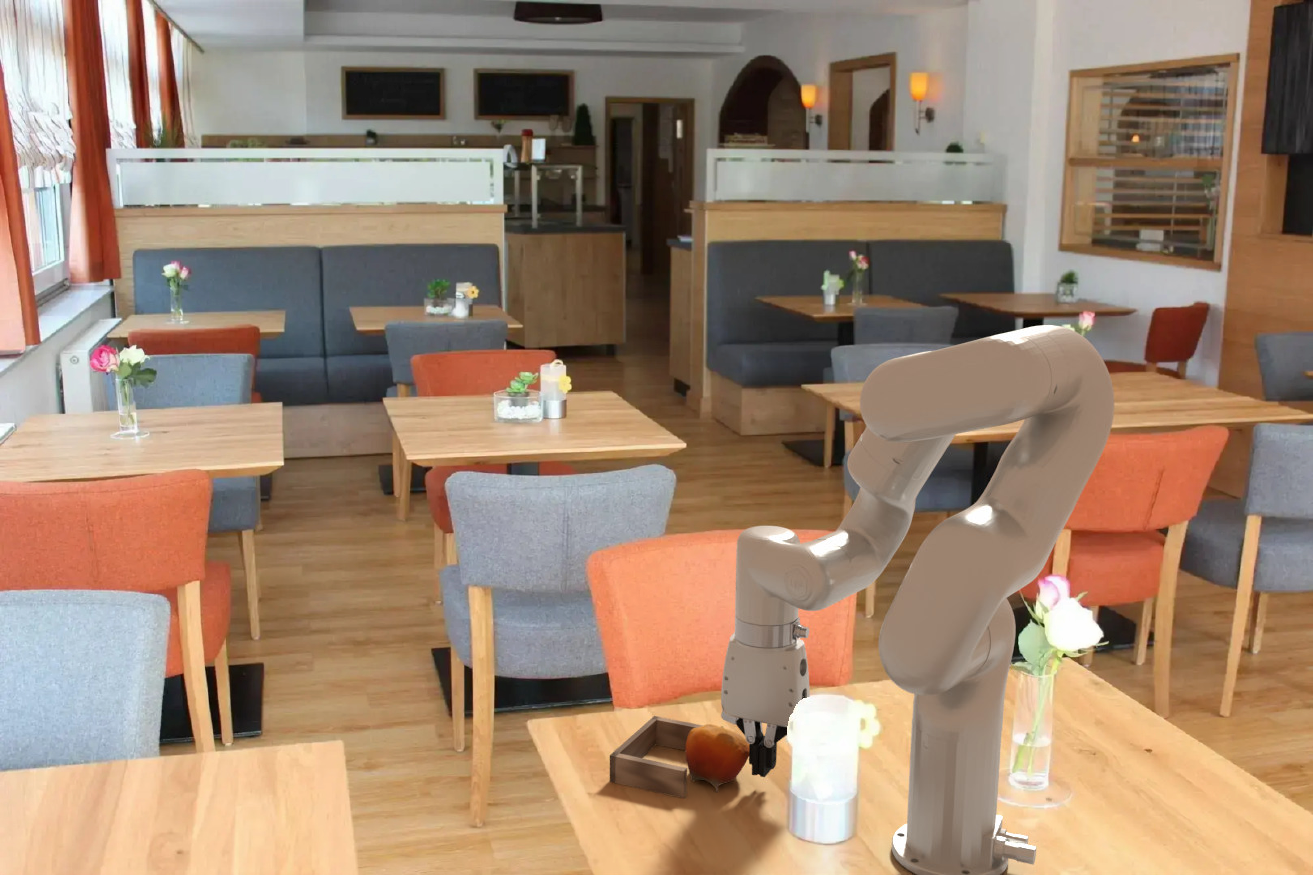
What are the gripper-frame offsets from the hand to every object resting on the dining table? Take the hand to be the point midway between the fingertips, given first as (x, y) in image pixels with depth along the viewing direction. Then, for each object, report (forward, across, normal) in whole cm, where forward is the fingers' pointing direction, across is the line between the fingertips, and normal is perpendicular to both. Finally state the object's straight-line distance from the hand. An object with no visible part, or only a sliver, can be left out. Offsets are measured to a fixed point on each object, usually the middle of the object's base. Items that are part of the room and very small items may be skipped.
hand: (762, 771), depth 158 cm
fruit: (+2, +6, 0) cm, 7 cm away
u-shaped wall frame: (+2, +13, 0) cm, 13 cm away
